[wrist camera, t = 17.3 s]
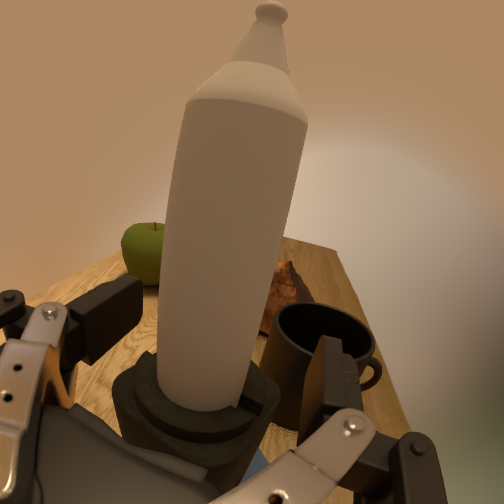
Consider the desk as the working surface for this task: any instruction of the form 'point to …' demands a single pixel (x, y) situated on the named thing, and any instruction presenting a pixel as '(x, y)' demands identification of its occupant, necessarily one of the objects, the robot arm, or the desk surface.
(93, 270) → the desk surface
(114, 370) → the desk surface
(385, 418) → the desk surface
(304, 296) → the decorative rock
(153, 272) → the apple
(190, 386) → the candle
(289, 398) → the black cylindrical cup
